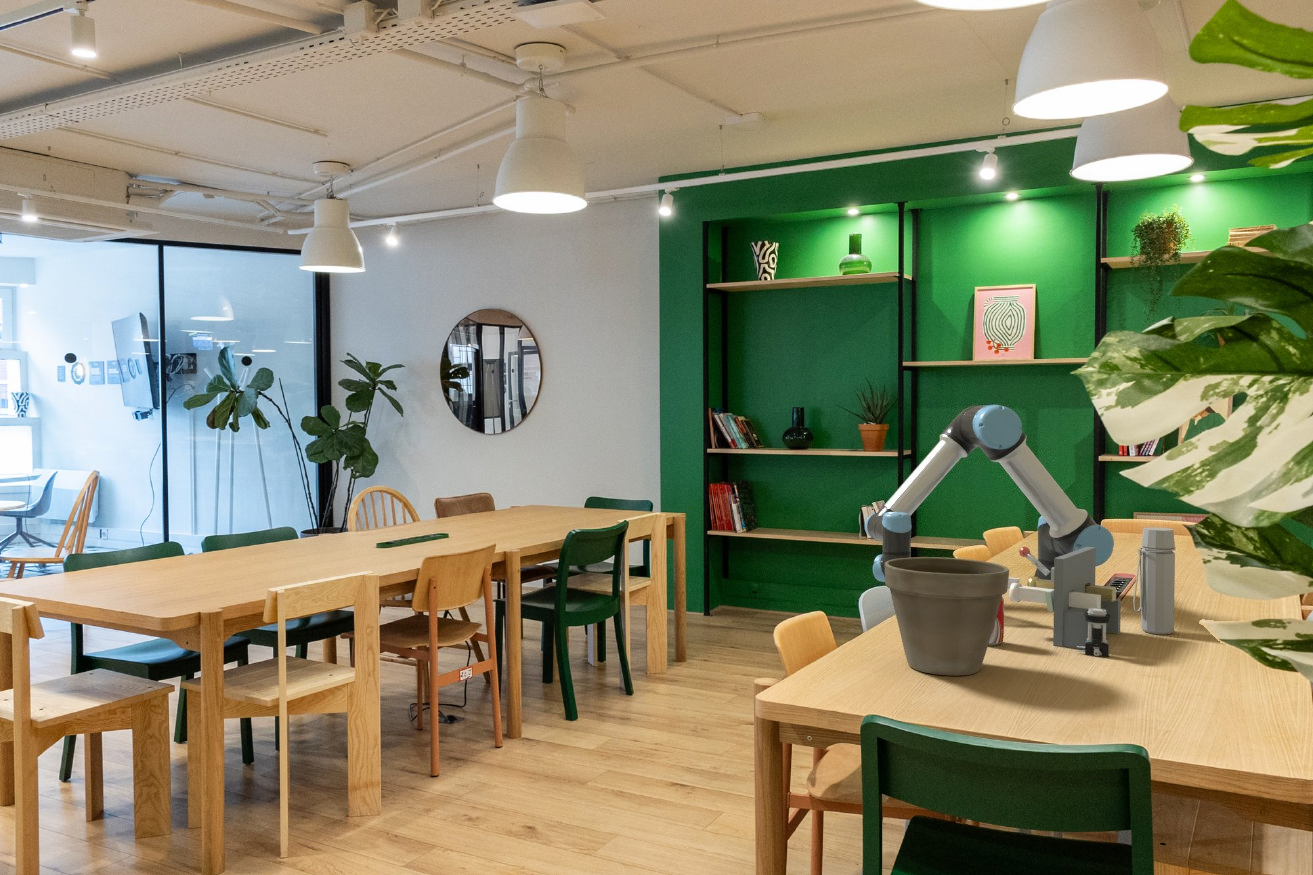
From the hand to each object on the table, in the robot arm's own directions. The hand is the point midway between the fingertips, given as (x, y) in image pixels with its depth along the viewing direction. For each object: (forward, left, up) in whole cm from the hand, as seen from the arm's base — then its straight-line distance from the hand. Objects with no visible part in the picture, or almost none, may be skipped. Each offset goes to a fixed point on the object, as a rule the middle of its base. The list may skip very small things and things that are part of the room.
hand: (1018, 584), depth 245 cm
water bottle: (-19, +24, -10) cm, 32 cm away
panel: (+1, +19, -10) cm, 21 cm away
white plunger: (+8, +15, -2) cm, 17 cm away
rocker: (+11, +17, -2) cm, 21 cm away
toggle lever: (+13, +13, +6) cm, 19 cm away
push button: (+13, +28, -10) cm, 33 cm away
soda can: (+23, +8, -10) cm, 27 cm away
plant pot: (+48, +16, -10) cm, 52 cm away
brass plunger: (-4, +12, -2) cm, 13 cm away
